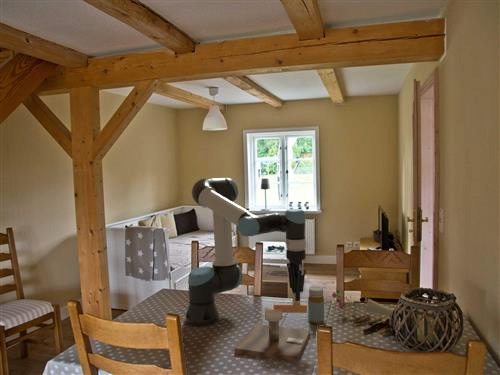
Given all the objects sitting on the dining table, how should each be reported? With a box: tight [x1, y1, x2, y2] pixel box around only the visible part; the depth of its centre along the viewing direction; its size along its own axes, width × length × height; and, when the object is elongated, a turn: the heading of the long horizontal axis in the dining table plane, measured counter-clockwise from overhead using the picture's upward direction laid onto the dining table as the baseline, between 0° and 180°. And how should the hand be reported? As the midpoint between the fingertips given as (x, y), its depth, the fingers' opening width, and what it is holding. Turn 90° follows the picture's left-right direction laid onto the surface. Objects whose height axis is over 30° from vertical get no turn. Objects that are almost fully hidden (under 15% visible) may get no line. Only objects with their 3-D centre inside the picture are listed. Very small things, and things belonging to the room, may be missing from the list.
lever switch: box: [264, 302, 308, 322], centre depth 158 cm, size 16×7×6 cm, turn 85°
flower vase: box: [331, 287, 394, 319], centre depth 182 cm, size 12×12×35 cm
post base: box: [234, 321, 311, 363], centre depth 159 cm, size 24×24×10 cm
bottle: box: [307, 286, 325, 325], centre depth 180 cm, size 7×7×15 cm
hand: (296, 307), depth 160 cm, fingers closed
